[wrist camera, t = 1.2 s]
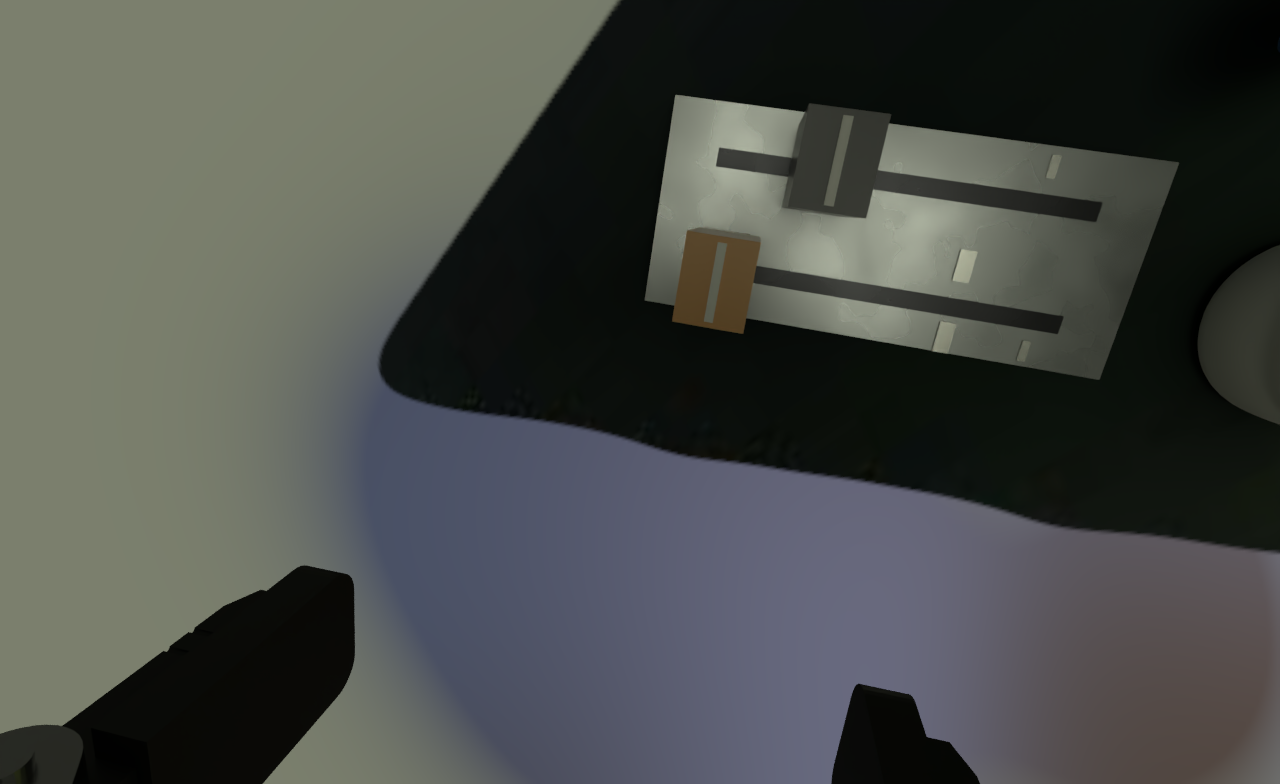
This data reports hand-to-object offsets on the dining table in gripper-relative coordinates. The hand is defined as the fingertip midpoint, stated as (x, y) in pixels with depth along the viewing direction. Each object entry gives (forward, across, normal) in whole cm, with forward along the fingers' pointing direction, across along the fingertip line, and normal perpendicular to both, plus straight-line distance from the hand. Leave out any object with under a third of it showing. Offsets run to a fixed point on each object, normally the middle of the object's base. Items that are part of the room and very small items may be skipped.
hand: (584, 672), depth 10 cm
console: (+21, -7, -7) cm, 23 cm away
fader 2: (+18, -4, -9) cm, 21 cm away
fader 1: (+18, -1, -5) cm, 19 cm away
